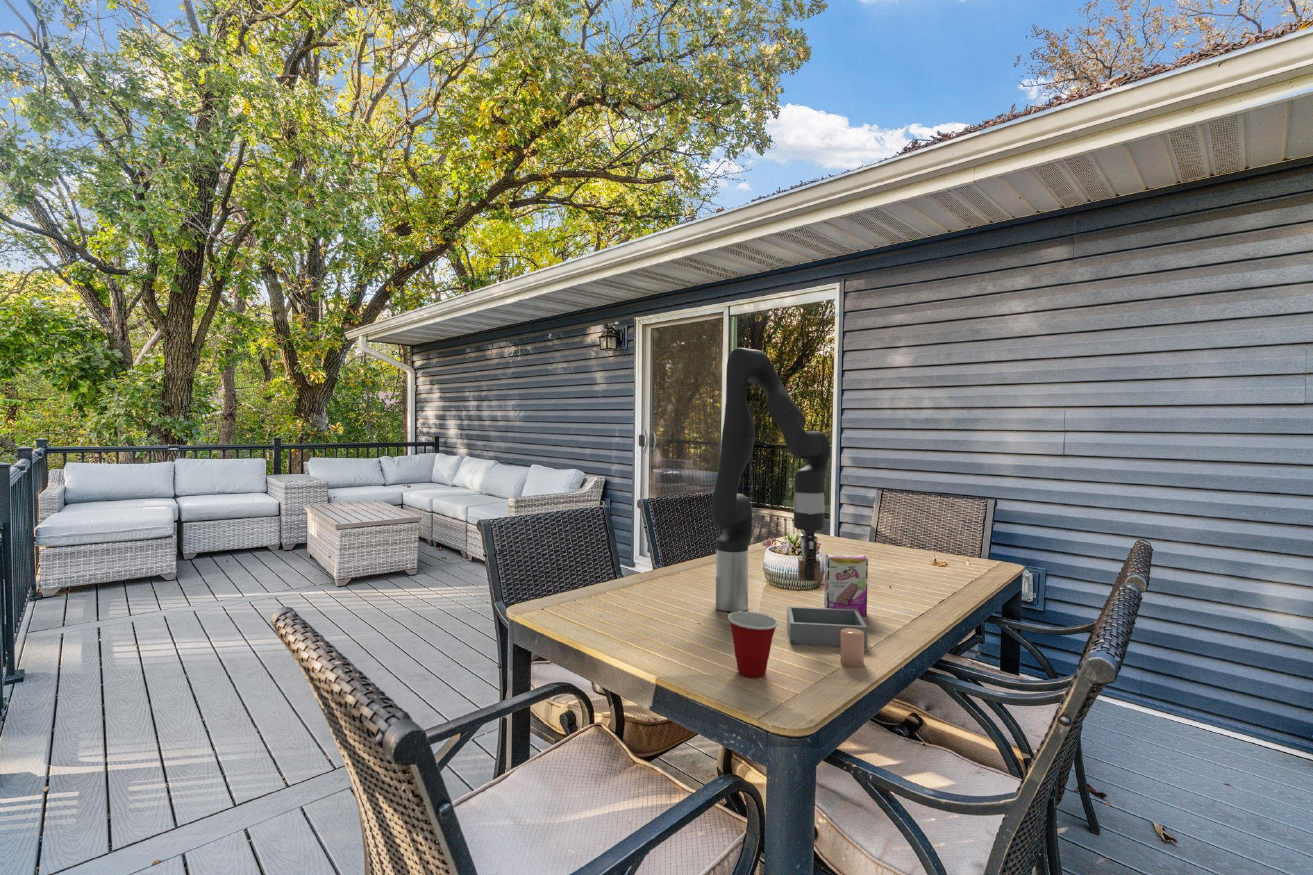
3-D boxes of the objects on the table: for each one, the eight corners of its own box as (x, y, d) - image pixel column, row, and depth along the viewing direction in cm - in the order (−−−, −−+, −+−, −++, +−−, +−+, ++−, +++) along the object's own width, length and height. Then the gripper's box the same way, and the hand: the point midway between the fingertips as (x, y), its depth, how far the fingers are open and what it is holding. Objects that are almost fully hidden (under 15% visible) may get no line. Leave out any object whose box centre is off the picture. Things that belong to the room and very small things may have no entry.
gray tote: (790, 643, 147) (790, 623, 147) (786, 625, 161) (787, 606, 161) (867, 647, 144) (867, 627, 144) (857, 628, 158) (857, 609, 158)
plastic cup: (784, 682, 125) (785, 624, 124) (733, 684, 124) (733, 626, 124) (770, 662, 136) (770, 609, 135) (723, 663, 135) (723, 610, 134)
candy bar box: (827, 615, 169) (827, 557, 169) (823, 610, 174) (824, 553, 174) (868, 616, 168) (868, 558, 168) (863, 611, 173) (864, 554, 173)
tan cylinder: (842, 666, 133) (842, 635, 133) (839, 658, 138) (839, 627, 138) (865, 668, 132) (866, 636, 132) (861, 659, 137) (861, 628, 137)
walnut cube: (799, 580, 151) (799, 560, 151) (798, 575, 156) (798, 556, 156) (820, 581, 150) (820, 561, 150) (818, 576, 155) (818, 557, 155)
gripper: (792, 505, 160) (791, 569, 161) (795, 513, 146) (795, 583, 146) (821, 506, 159) (820, 570, 159) (827, 514, 145) (827, 584, 145)
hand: (808, 576), depth 153 cm, fingers closed on walnut cube, 5 cm apart
